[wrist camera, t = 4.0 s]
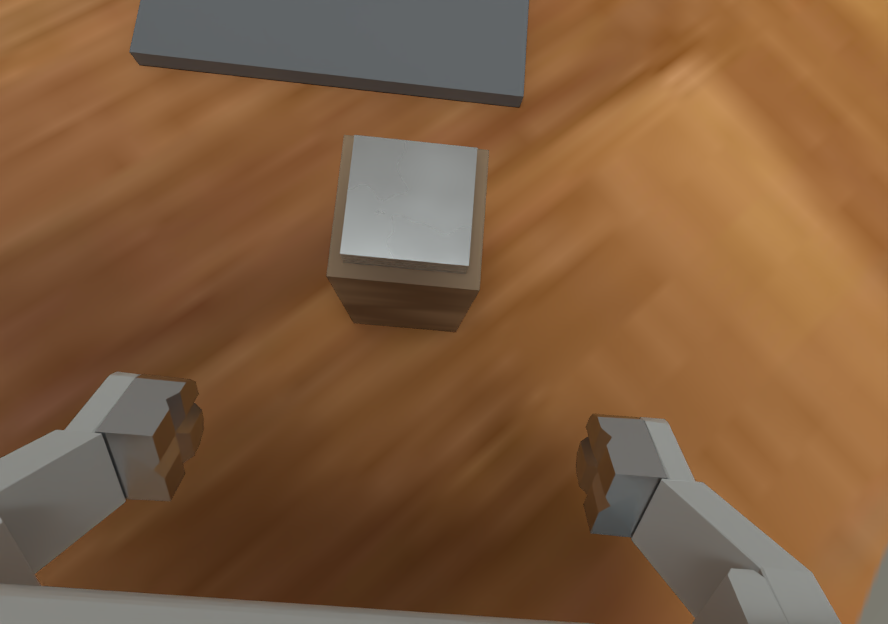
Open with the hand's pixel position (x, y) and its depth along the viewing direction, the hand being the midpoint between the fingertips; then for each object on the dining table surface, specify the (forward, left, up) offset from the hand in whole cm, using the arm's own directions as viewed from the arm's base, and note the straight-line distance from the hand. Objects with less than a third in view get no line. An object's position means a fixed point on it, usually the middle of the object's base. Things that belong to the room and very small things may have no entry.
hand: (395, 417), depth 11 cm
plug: (0, +5, -9) cm, 11 cm away
